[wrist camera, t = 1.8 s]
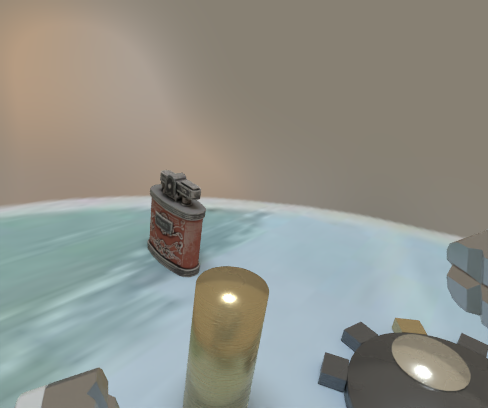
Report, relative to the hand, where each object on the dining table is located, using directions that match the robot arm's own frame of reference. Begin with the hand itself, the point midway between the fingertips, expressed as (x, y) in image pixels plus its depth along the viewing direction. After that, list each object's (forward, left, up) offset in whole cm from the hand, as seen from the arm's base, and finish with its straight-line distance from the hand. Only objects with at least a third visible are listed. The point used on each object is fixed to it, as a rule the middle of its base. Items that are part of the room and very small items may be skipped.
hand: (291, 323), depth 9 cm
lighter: (-7, +34, -20) cm, 40 cm away
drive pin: (-1, +14, -20) cm, 24 cm away
